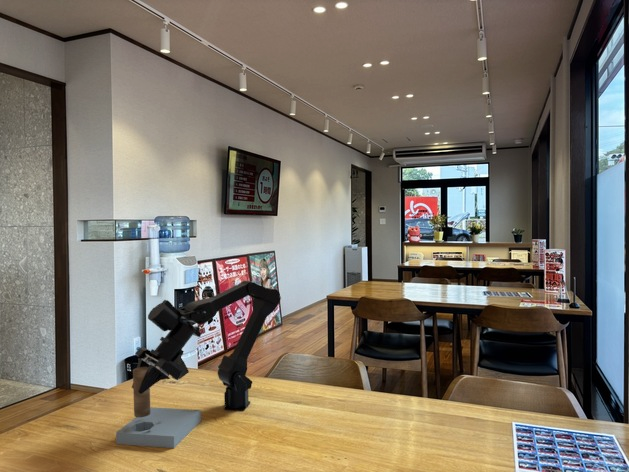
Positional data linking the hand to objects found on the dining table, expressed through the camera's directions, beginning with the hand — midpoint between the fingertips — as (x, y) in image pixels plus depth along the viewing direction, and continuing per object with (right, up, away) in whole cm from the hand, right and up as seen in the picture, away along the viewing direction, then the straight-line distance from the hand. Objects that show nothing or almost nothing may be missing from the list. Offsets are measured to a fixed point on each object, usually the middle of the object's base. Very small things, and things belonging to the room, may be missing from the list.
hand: (136, 390), depth 115 cm
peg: (+1, -7, +1) cm, 7 cm away
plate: (+5, -13, +5) cm, 14 cm away
